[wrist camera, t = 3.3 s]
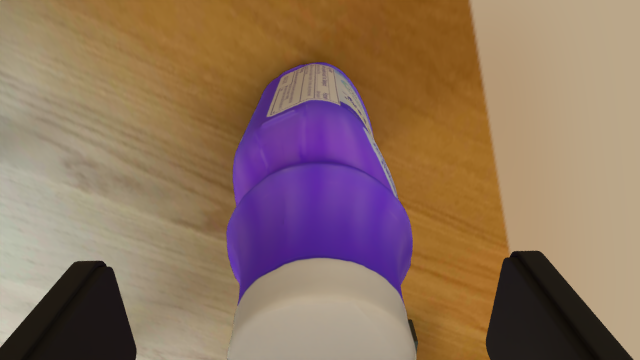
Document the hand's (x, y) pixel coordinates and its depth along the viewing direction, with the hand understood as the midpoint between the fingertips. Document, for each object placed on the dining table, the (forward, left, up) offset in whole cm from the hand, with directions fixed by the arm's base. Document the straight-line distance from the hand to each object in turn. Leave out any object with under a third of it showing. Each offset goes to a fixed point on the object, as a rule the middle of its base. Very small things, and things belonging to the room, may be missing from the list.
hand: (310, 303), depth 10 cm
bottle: (0, 0, -16) cm, 16 cm away
